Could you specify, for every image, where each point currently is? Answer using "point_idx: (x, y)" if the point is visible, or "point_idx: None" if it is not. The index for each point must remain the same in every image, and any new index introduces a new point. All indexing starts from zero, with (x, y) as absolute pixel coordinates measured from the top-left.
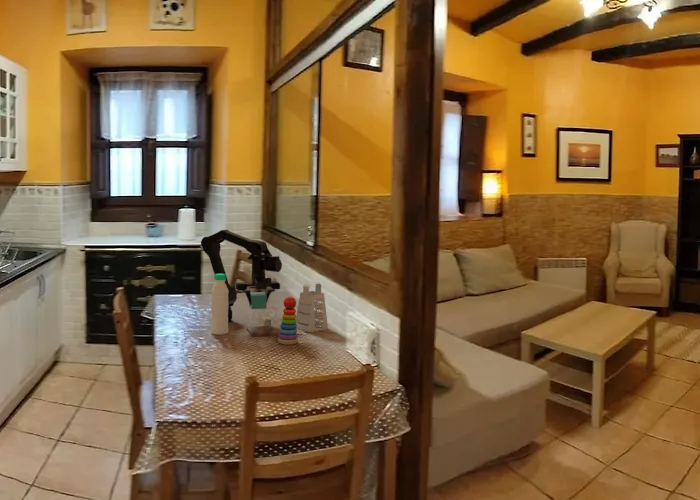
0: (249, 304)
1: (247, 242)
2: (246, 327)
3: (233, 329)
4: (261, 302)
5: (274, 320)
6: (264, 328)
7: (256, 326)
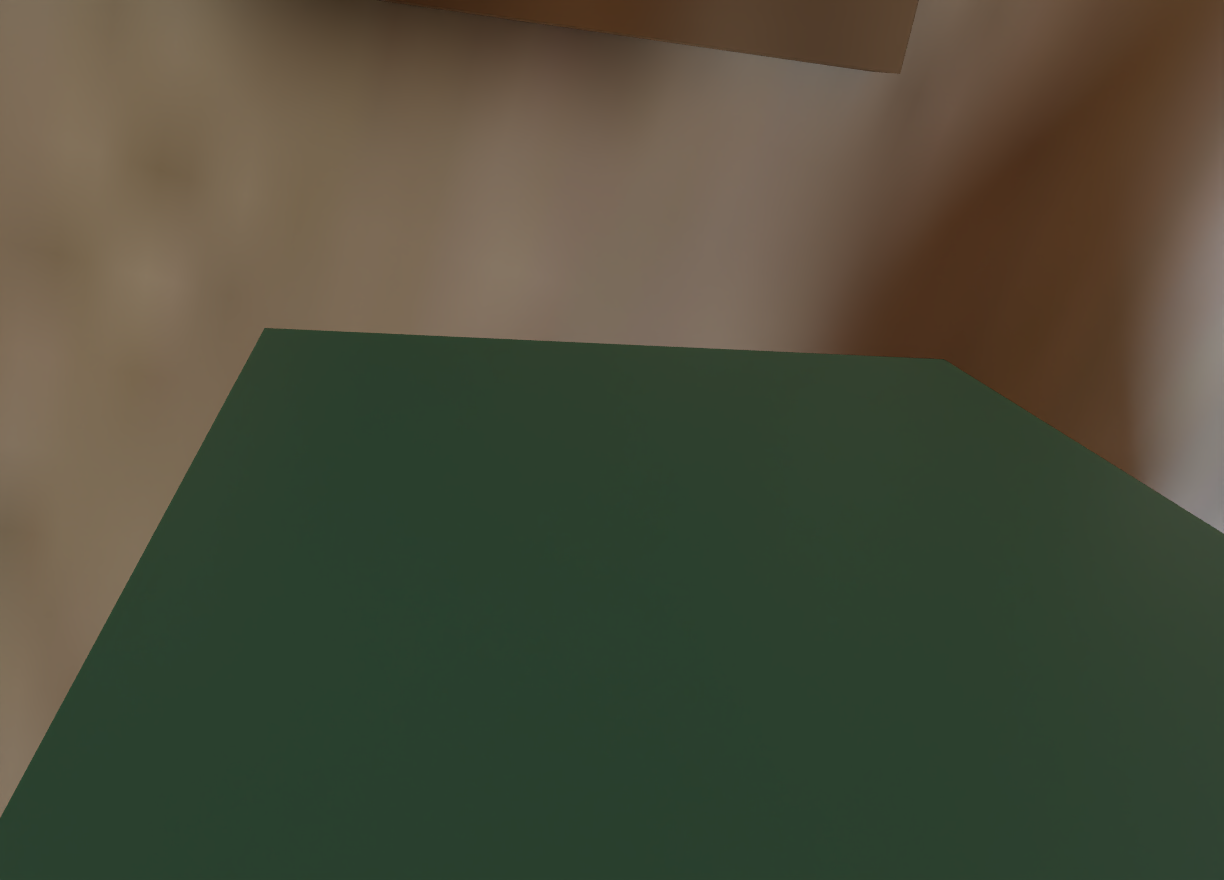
0: None
1: None
2: (900, 52)
3: (1088, 154)
4: (598, 507)
5: (47, 679)
6: None
7: (657, 37)
